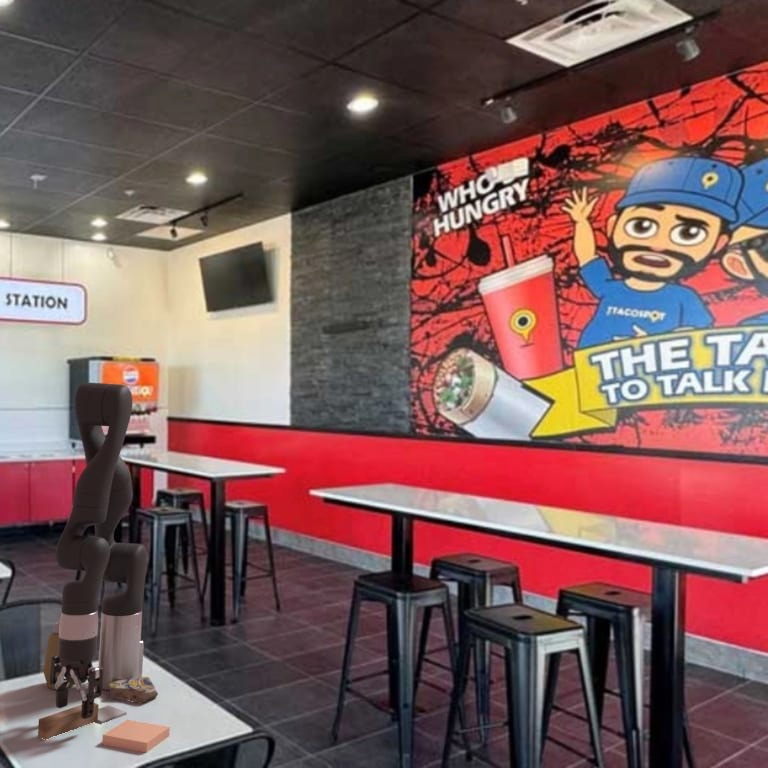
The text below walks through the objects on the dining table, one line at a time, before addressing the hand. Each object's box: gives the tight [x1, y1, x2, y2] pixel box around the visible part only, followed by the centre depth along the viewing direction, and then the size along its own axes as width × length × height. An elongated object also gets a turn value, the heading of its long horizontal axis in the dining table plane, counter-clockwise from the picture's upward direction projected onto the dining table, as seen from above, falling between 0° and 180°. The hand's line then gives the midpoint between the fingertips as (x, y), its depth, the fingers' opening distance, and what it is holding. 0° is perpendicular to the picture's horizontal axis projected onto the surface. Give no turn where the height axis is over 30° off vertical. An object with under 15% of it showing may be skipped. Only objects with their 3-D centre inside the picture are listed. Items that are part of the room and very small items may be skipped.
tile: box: [101, 719, 171, 753], centre depth 154 cm, size 2×8×10 cm
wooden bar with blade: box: [37, 702, 127, 741], centre depth 160 cm, size 18×6×4 cm, turn 147°
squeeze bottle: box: [42, 616, 75, 690], centre depth 181 cm, size 8×8×18 cm
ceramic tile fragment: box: [109, 676, 159, 704], centre depth 178 cm, size 12×3×10 cm
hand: (74, 712), depth 159 cm, fingers open, 8 cm apart
